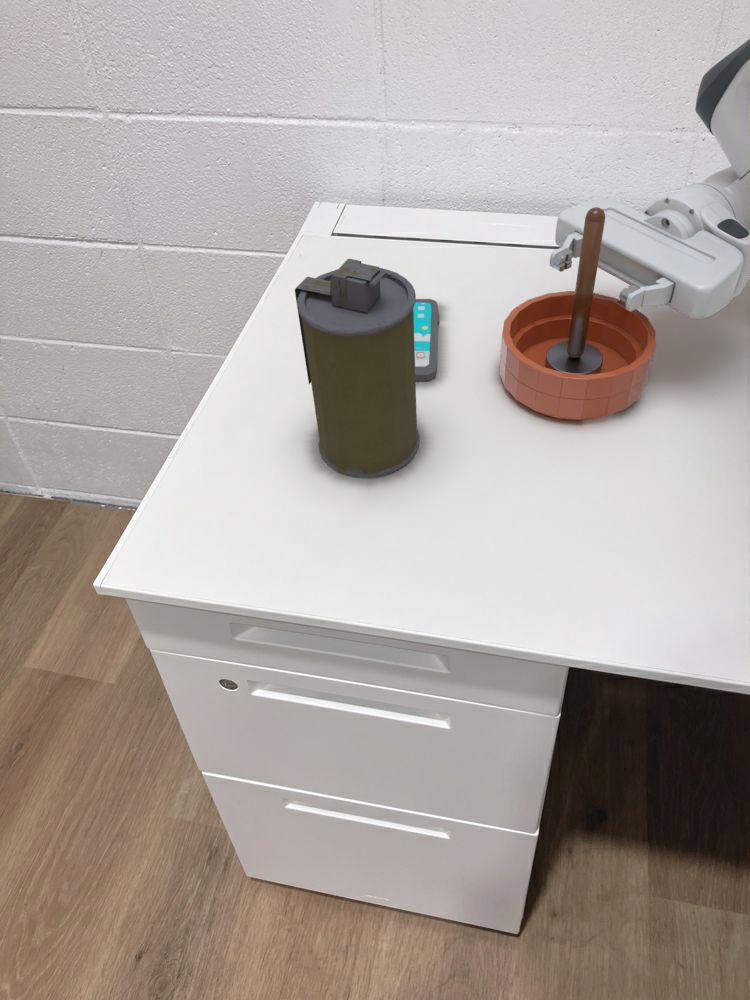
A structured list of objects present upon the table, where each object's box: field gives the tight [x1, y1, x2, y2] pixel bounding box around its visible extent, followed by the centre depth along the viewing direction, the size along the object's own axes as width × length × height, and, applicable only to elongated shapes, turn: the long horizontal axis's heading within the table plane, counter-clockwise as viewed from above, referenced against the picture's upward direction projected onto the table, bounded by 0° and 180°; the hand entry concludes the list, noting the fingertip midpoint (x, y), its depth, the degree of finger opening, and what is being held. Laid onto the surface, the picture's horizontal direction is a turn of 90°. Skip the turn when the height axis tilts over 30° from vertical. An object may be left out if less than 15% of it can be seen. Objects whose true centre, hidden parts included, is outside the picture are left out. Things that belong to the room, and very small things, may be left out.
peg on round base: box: [545, 207, 605, 375], centre depth 81 cm, size 6×6×19 cm
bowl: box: [498, 290, 657, 421], centre depth 86 cm, size 16×16×6 cm
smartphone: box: [413, 298, 440, 382], centre depth 94 cm, size 9×1×15 cm
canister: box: [294, 258, 420, 479], centre depth 76 cm, size 11×10×20 cm
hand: (588, 281), depth 80 cm, fingers open, 8 cm apart
